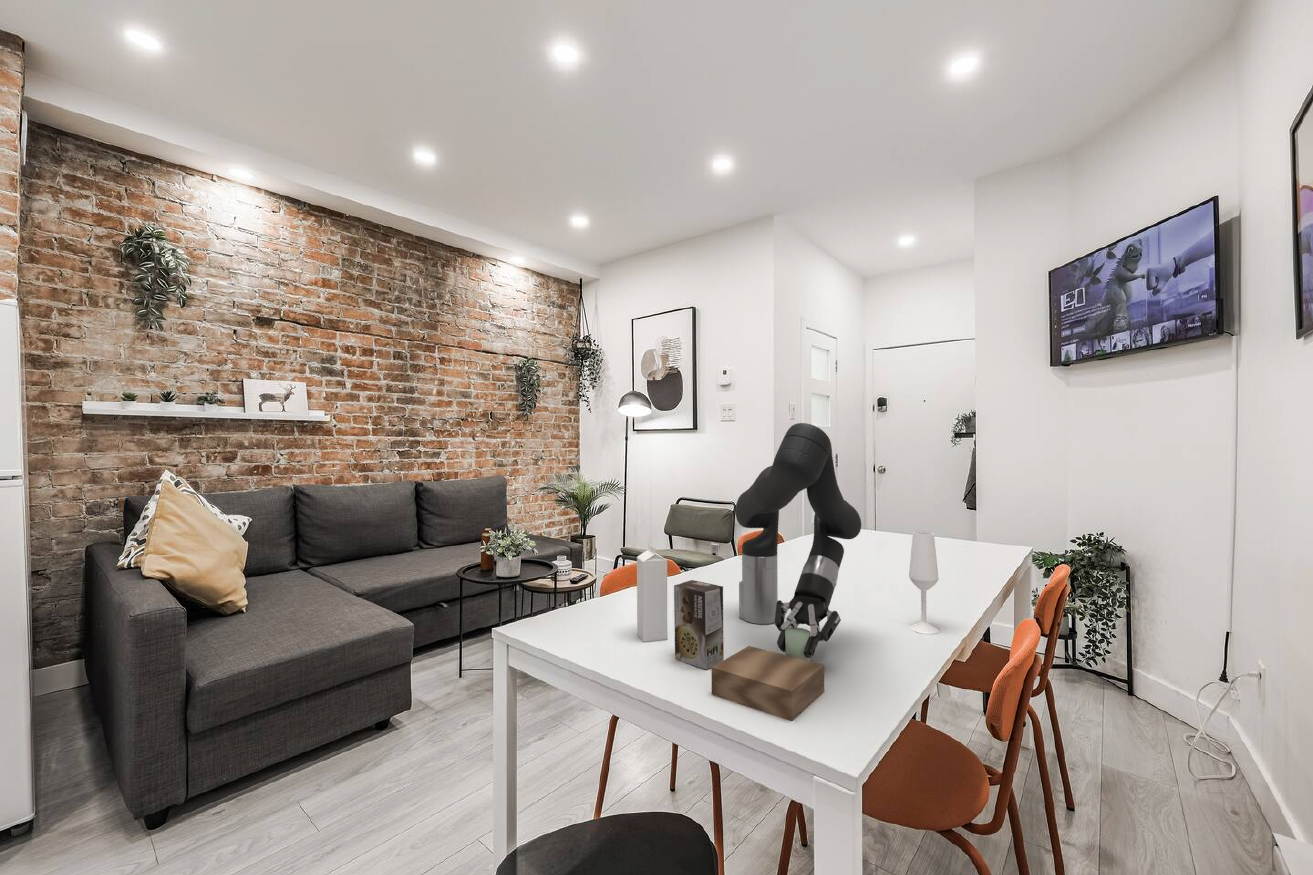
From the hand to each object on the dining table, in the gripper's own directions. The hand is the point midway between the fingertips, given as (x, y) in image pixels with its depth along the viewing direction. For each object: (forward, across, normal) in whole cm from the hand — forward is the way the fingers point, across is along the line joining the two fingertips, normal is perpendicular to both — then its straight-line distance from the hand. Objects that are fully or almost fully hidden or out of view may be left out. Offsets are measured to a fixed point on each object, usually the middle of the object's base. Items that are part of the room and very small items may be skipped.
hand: (794, 652), depth 113 cm
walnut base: (+11, 0, -5) cm, 12 cm away
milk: (+4, -36, +2) cm, 36 cm away
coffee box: (+7, -19, -1) cm, 21 cm away
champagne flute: (-29, +14, +35) cm, 47 cm away
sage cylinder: (+2, 0, +4) cm, 5 cm away
